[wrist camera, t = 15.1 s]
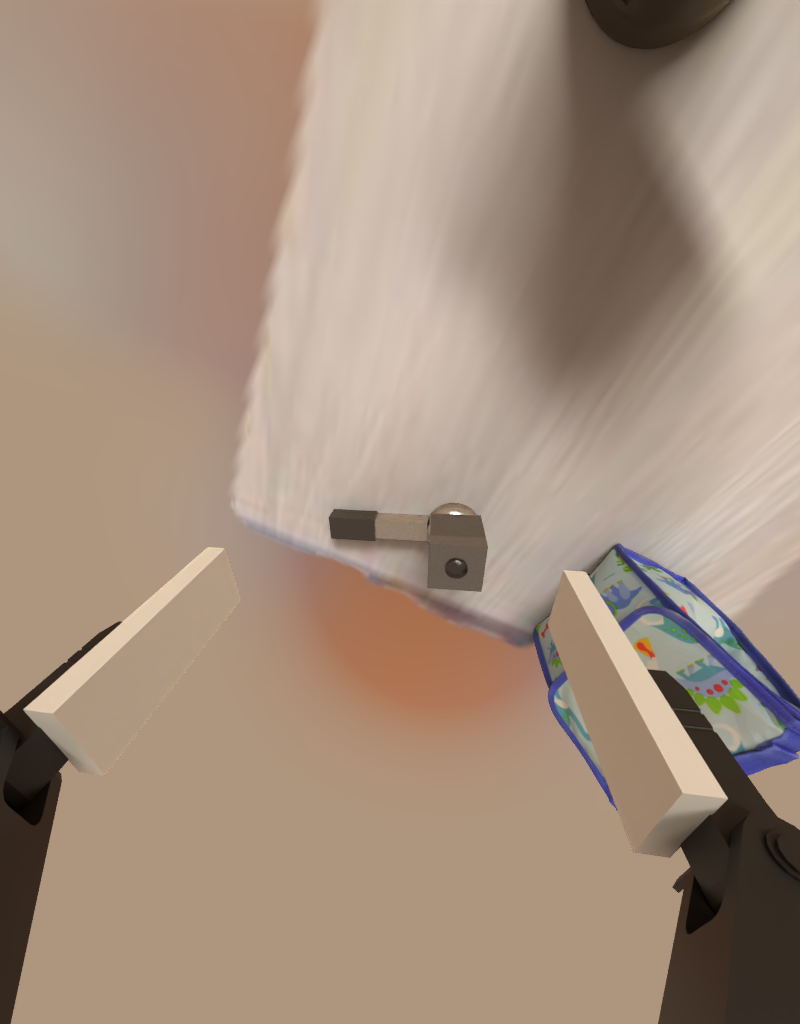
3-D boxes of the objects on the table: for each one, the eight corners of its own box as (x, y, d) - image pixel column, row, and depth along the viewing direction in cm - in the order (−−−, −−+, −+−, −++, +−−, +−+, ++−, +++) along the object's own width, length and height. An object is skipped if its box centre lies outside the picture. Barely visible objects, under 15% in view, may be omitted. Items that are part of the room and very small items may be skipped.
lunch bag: (602, 530, 48) (747, 700, 25) (692, 574, 50) (904, 770, 27) (516, 623, 59) (564, 803, 36) (593, 656, 60) (687, 849, 38)
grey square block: (431, 513, 47) (429, 544, 40) (480, 515, 46) (488, 548, 39) (429, 553, 50) (427, 589, 43) (475, 556, 49) (481, 593, 42)
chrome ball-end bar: (332, 497, 51) (316, 520, 44) (482, 504, 49) (488, 529, 42) (337, 540, 55) (323, 567, 48) (476, 548, 52) (481, 578, 46)
